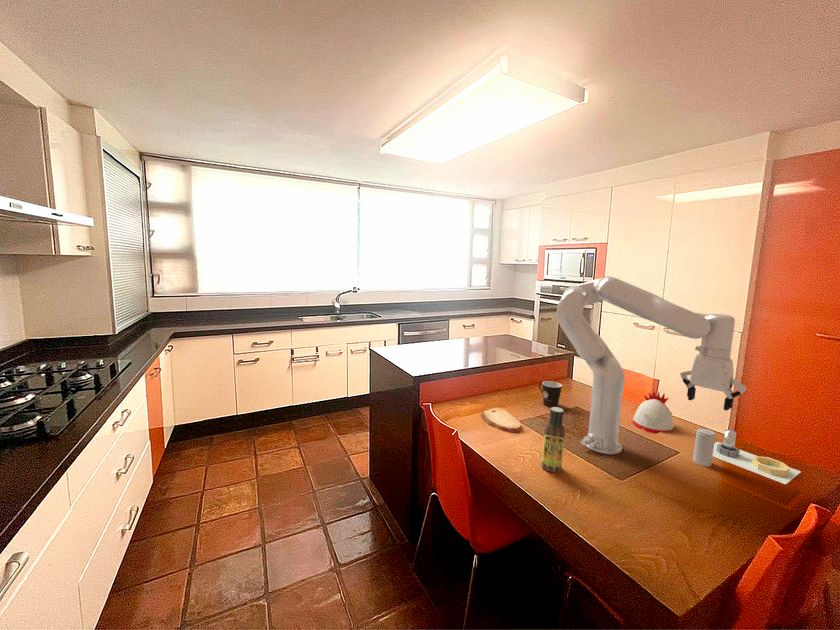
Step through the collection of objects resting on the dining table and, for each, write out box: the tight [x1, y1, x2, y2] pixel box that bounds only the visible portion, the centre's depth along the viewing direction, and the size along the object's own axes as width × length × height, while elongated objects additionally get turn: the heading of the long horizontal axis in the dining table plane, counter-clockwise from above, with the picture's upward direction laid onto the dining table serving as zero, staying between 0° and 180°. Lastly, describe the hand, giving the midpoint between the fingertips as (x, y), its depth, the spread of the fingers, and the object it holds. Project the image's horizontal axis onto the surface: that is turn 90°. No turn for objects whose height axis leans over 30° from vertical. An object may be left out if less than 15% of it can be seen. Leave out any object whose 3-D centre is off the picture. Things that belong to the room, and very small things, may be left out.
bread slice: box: [480, 407, 524, 434], centre depth 150 cm, size 18×18×4 cm
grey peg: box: [722, 429, 737, 451], centre depth 124 cm, size 3×3×8 cm
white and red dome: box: [632, 390, 674, 434], centre depth 147 cm, size 14×14×15 cm
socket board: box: [712, 441, 802, 485], centre depth 120 cm, size 14×22×3 cm, turn 30°
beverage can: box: [692, 427, 716, 468], centre depth 118 cm, size 5×5×12 cm
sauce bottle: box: [541, 407, 566, 473], centre depth 114 cm, size 6×6×20 cm
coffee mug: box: [538, 380, 563, 408], centre depth 170 cm, size 12×9×10 cm
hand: (708, 404), depth 117 cm, fingers open, 9 cm apart
